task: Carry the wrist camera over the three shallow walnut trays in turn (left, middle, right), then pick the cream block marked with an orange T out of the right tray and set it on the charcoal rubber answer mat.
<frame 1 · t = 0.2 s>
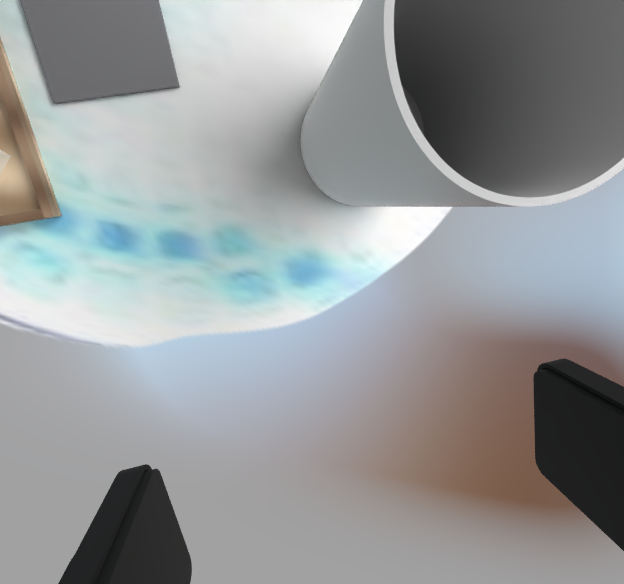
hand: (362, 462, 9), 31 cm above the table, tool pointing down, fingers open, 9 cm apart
cylinder vase: (358, 144, 37), on the table
answer mat: (99, 26, 31), on the table
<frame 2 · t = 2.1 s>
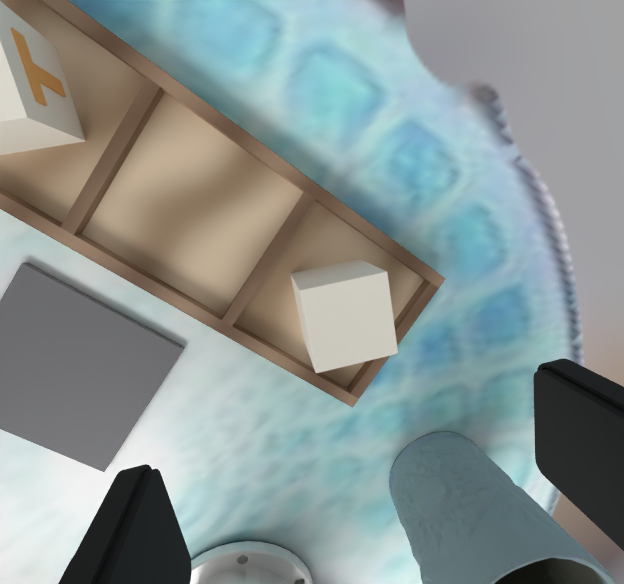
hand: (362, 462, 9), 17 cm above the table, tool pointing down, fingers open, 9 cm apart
drinking glass: (431, 472, 31), on the table
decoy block: (331, 299, 25), resting on tray board
letter block: (25, 102, 20), resting on tray board
answer mat: (69, 373, 24), on the table
tray board: (197, 212, 23), on the table
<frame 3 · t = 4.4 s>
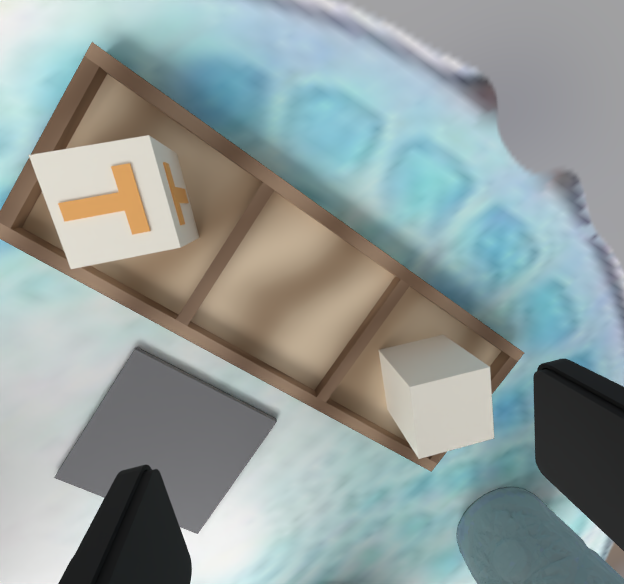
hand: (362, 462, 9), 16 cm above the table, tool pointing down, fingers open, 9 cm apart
drinking glass: (495, 524, 32), on the table
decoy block: (414, 372, 27), resting on tray board
letter block: (146, 204, 21), resting on tray board
answer mat: (170, 445, 25), on the table
tray board: (295, 296, 24), on the table
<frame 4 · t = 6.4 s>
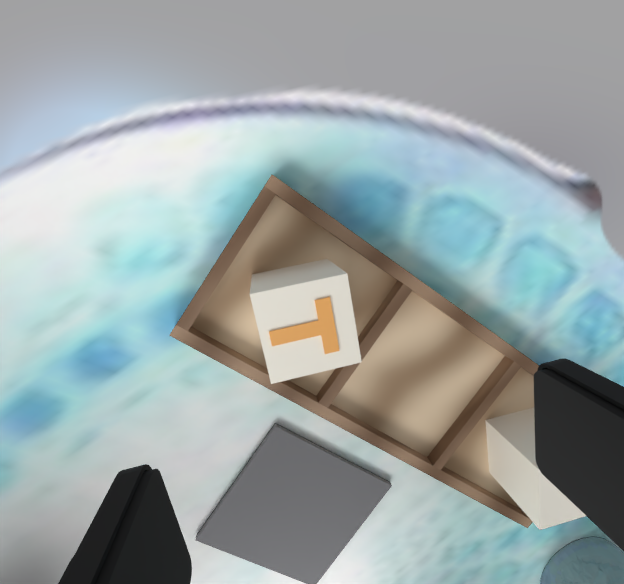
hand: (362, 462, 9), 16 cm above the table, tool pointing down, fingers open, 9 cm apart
drinking glass: (575, 570, 34), on the table
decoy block: (515, 438, 29), resting on tray board
letter block: (297, 302, 24), resting on tray board
answer mat: (295, 508, 28), on the table
tray board: (415, 375, 27), on the table
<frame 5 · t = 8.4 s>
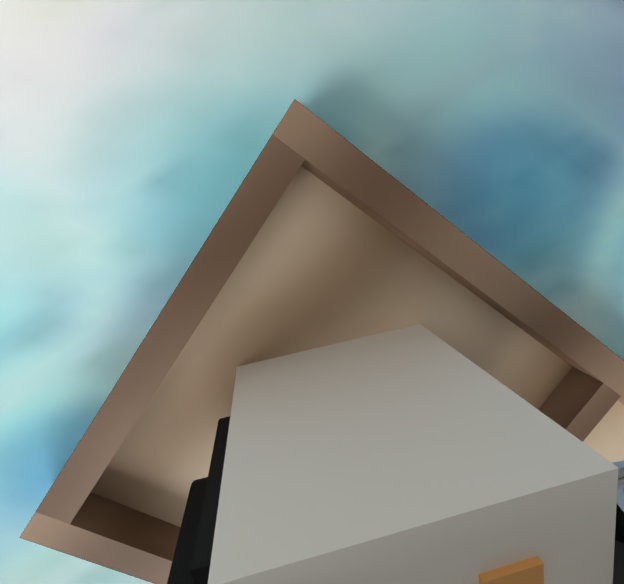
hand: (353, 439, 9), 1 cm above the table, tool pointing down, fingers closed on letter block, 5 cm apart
letter block: (345, 425, 10), resting on tray board, touching gripper
tray board: (575, 543, 13), on the table
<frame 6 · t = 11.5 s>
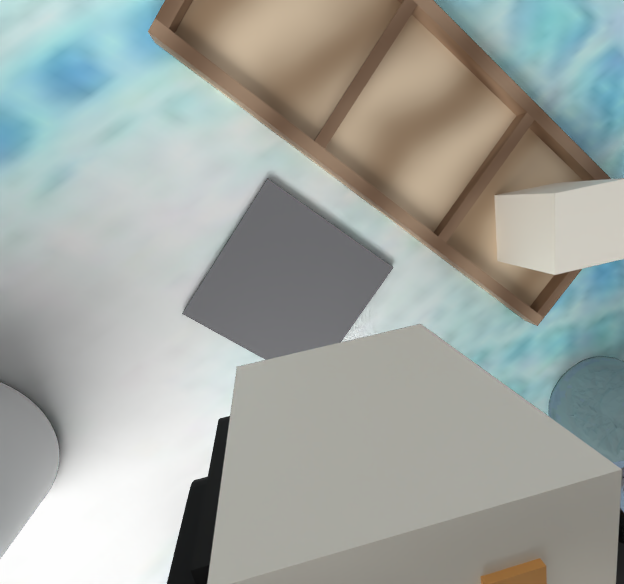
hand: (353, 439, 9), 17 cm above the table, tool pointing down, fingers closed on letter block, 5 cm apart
drinking glass: (585, 396, 33), on the table
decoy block: (526, 222, 27), resting on tray board
letter block: (345, 425, 10), point 17 cm above the table, touching gripper
answer mat: (290, 288, 26), on the table
tray board: (419, 134, 25), on the table
when the fingers open (3 cm above the table, at t = 14.7 s): letter block drops 2 cm, resting on answer mat.
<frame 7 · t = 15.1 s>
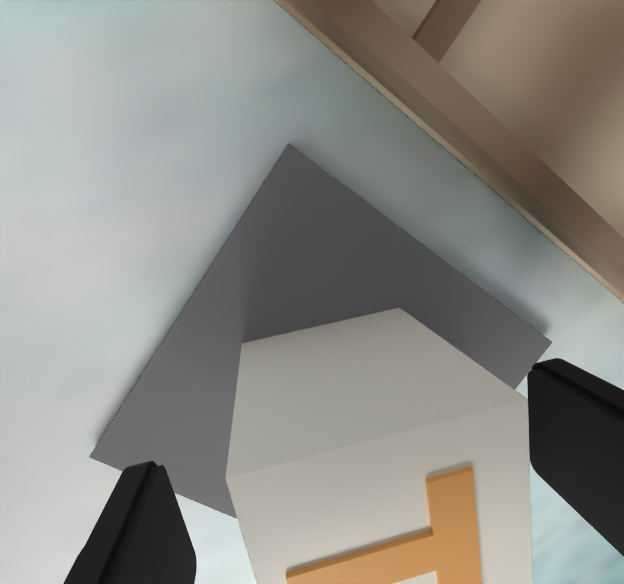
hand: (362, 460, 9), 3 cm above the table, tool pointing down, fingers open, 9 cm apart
letter block: (335, 396, 12), resting on answer mat
answer mat: (333, 389, 12), on the table
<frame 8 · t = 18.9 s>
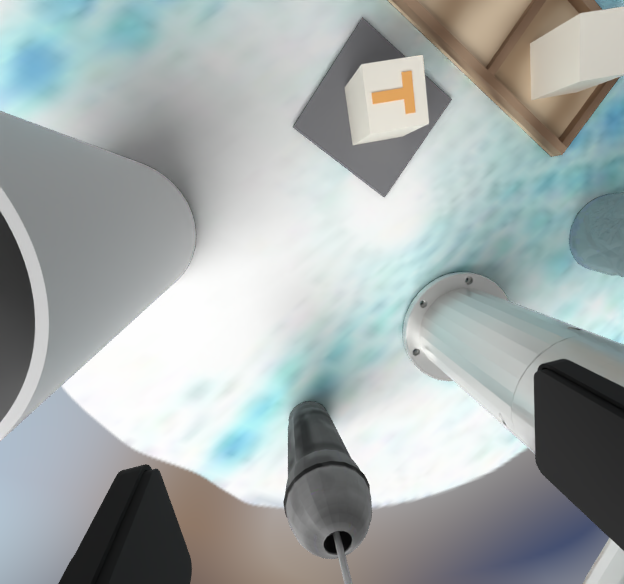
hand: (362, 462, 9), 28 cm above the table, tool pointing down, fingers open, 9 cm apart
drinking glass: (598, 232, 40), on the table
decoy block: (553, 68, 35), resting on tray board
letter block: (374, 112, 33), resting on answer mat
cylinder vase: (128, 230, 33), on the table
answer mat: (373, 113, 34), on the table
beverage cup: (308, 418, 40), on the table
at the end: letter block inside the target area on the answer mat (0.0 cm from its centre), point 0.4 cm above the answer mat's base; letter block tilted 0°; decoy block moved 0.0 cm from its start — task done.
